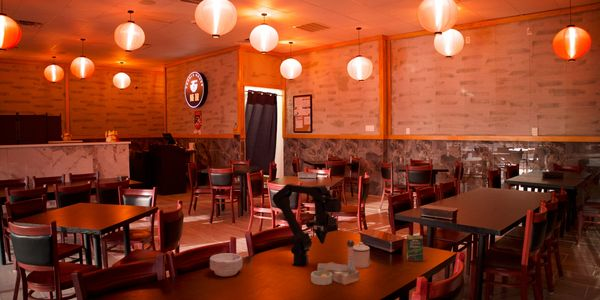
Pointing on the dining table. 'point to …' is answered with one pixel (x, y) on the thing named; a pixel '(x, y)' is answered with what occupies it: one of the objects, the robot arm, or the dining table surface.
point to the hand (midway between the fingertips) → (322, 243)
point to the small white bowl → (321, 280)
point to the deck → (343, 276)
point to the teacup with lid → (361, 255)
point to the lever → (340, 267)
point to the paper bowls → (225, 264)
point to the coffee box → (415, 248)
